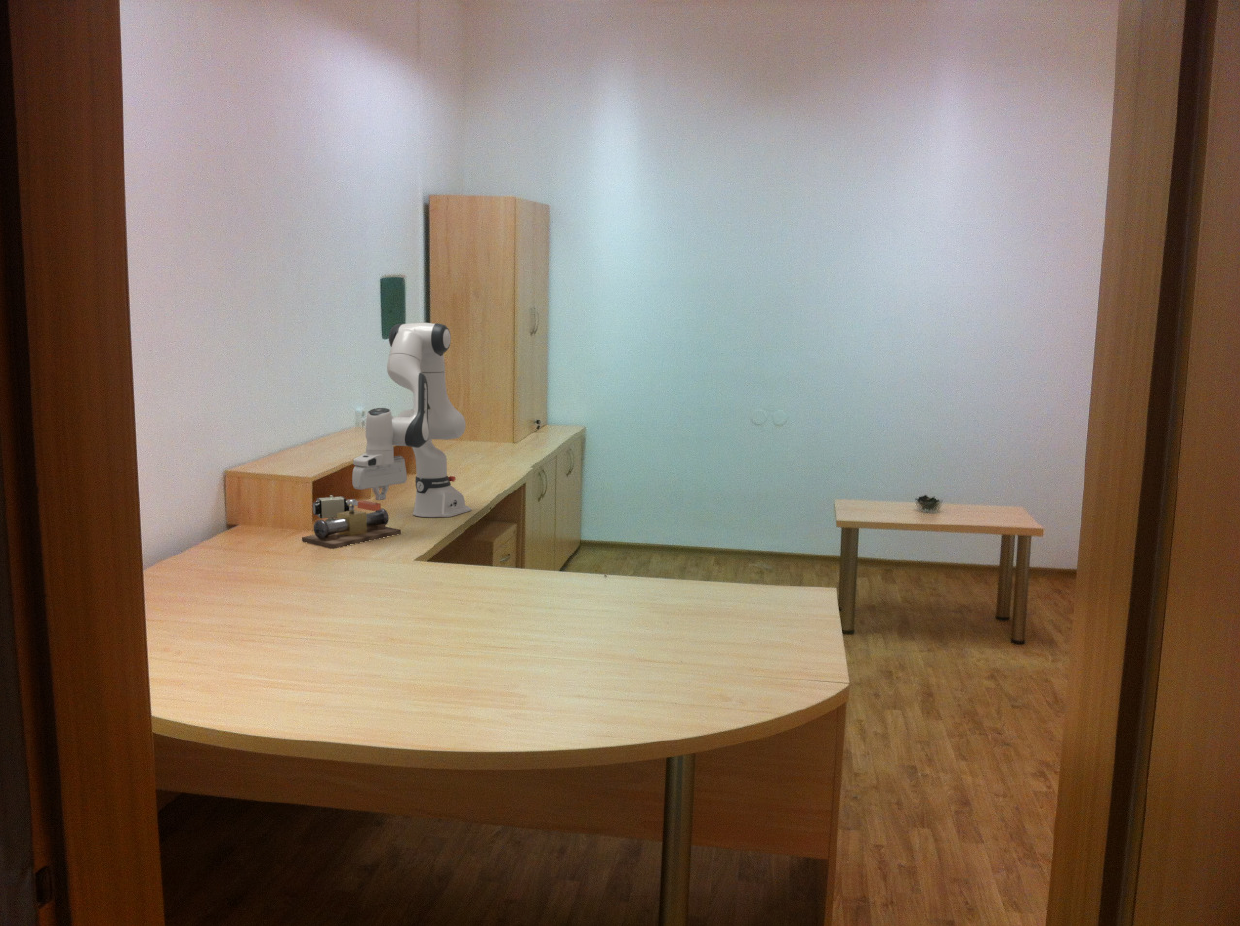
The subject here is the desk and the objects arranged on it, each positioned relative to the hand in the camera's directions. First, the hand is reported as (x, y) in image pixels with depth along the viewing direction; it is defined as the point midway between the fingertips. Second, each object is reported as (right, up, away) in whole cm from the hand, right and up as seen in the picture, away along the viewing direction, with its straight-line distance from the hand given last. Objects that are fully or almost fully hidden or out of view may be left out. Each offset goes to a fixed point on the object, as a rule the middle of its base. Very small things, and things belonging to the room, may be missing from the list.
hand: (380, 499), depth 340 cm
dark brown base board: (-10, -13, +4) cm, 17 cm away
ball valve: (-10, -11, +3) cm, 16 cm away
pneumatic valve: (-21, -11, +16) cm, 29 cm away
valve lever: (-6, -3, -1) cm, 6 cm away
